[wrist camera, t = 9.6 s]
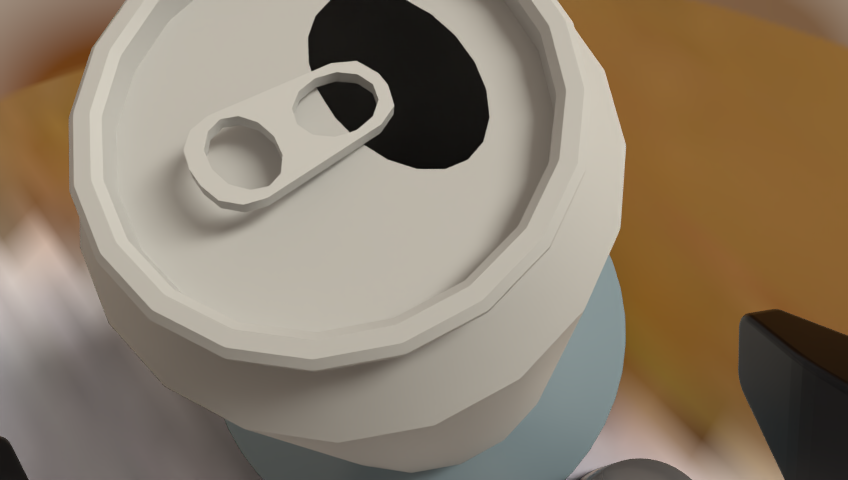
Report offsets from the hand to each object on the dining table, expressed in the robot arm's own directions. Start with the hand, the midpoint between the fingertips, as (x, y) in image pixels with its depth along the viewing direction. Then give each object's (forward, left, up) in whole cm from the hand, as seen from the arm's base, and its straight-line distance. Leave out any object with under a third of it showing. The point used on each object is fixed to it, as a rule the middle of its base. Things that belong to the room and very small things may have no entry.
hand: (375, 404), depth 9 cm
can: (+3, 0, -10) cm, 11 cm away
